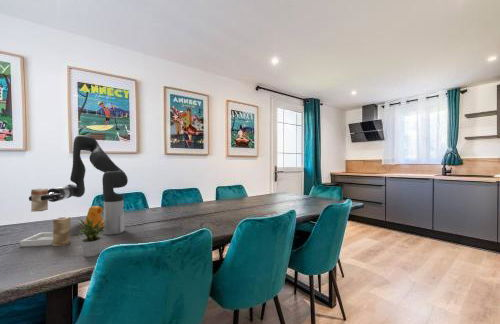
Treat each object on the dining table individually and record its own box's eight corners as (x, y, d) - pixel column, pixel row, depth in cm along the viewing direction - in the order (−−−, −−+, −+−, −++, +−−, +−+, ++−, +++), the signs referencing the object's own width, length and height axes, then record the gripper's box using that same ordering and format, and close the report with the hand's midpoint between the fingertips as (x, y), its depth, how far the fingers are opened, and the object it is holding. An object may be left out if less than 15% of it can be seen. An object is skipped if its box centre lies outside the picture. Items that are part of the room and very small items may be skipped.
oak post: (70, 242, 110) (70, 216, 110) (64, 245, 105) (64, 219, 105) (59, 242, 109) (59, 217, 109) (53, 246, 104) (53, 219, 104)
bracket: (95, 229, 131) (95, 208, 131) (84, 228, 132) (84, 207, 132) (109, 224, 142) (110, 204, 142) (99, 223, 143) (99, 204, 143)
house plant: (56, 261, 89) (56, 218, 89) (84, 248, 103) (84, 211, 103) (92, 262, 88) (92, 219, 88) (115, 248, 102) (115, 211, 102)
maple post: (47, 209, 121) (48, 188, 121) (41, 211, 116) (41, 189, 116) (37, 209, 120) (37, 188, 120) (31, 211, 115) (31, 189, 115)
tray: (69, 236, 119) (69, 231, 119) (52, 245, 106) (52, 239, 106) (40, 237, 117) (40, 232, 117) (19, 246, 104) (19, 241, 104)
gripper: (43, 187, 131) (19, 191, 114) (72, 187, 133) (52, 190, 116) (43, 201, 131) (19, 206, 114) (71, 200, 133) (51, 205, 116)
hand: (35, 198), depth 115 cm, fingers closed on maple post, 4 cm apart
